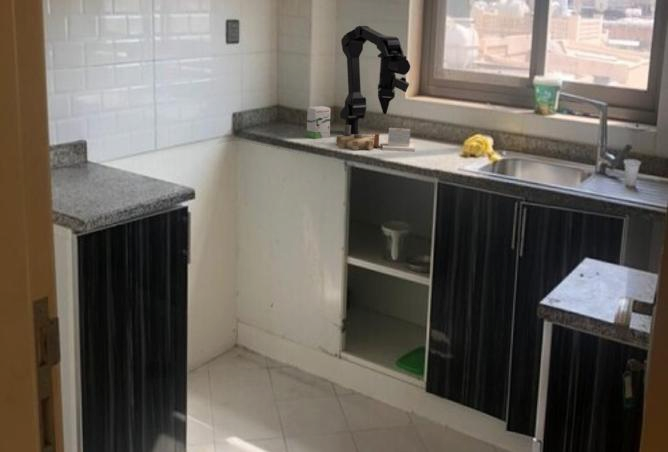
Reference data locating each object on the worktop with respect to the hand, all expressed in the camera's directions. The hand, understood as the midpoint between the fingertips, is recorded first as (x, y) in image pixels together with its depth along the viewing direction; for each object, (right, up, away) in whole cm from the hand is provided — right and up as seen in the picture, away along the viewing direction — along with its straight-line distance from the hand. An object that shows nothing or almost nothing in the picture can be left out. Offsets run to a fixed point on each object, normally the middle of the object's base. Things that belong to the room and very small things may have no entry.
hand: (384, 111), depth 324 cm
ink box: (-26, -8, +13) cm, 30 cm away
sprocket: (-11, -13, -2) cm, 17 cm away
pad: (+5, -14, -2) cm, 15 cm away
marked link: (+5, -13, -2) cm, 14 cm away
